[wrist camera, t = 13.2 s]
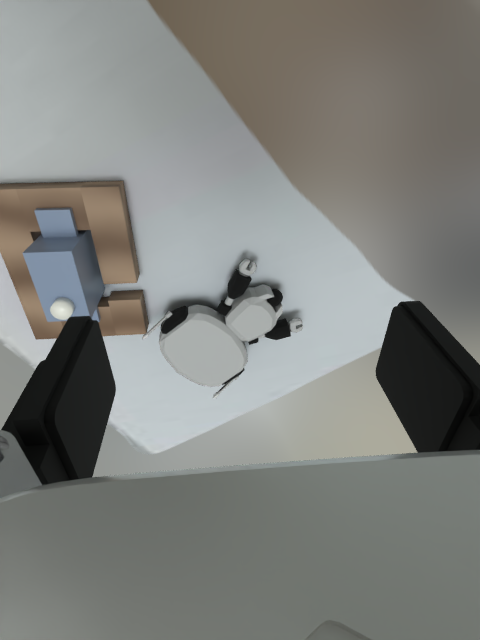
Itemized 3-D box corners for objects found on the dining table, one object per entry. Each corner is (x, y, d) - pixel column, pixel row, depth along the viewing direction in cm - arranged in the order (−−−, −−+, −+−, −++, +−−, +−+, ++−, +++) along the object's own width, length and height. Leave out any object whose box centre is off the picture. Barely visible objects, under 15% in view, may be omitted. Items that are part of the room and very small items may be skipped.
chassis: (-14, 184, 33) (-25, 190, 31) (123, 180, 33) (118, 186, 32) (42, 328, 42) (35, 339, 40) (148, 323, 42) (146, 333, 41)
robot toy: (243, 241, 39) (141, 321, 42) (250, 257, 35) (137, 344, 38) (302, 315, 45) (208, 380, 48) (314, 335, 41) (211, 405, 44)
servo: (39, 201, 34) (6, 228, 28) (83, 200, 34) (59, 226, 28) (73, 309, 41) (51, 349, 35) (109, 308, 41) (94, 347, 35)
